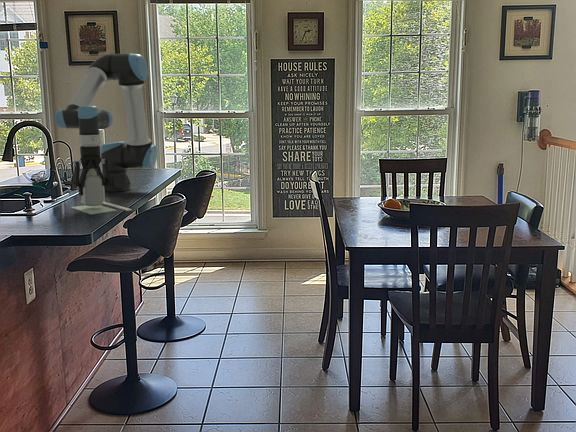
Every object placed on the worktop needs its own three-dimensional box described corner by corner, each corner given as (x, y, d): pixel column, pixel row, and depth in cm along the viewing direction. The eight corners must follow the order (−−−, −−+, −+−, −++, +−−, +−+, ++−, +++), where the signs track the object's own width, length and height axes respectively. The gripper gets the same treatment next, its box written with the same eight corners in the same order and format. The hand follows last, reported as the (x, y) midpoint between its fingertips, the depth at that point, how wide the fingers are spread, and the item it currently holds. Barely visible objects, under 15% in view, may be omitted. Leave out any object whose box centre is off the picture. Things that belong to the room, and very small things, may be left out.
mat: (96, 204, 253) (96, 204, 253) (116, 211, 240) (116, 210, 240) (71, 208, 246) (70, 207, 245) (90, 214, 233) (90, 213, 233)
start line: (104, 202, 258) (104, 201, 258) (131, 210, 241) (131, 209, 241) (99, 203, 257) (99, 202, 257) (127, 211, 240) (127, 209, 240)
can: (79, 205, 241) (77, 175, 239) (93, 202, 247) (91, 173, 245) (93, 207, 238) (91, 177, 235) (107, 204, 244) (105, 175, 242)
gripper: (69, 147, 228) (73, 206, 233) (118, 144, 242) (120, 200, 246) (60, 146, 234) (64, 203, 238) (109, 143, 247) (112, 198, 252)
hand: (93, 202), depth 242 cm, fingers closed on can, 7 cm apart
